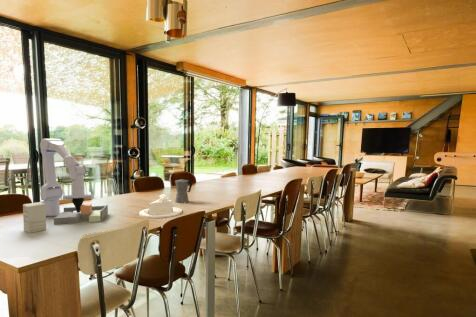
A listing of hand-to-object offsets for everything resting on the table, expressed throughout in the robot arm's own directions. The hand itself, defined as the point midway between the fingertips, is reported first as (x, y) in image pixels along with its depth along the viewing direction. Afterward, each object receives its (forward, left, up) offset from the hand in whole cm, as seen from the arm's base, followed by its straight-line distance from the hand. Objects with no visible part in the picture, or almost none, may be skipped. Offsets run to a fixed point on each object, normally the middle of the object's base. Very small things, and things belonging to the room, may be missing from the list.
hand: (78, 212), depth 157 cm
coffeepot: (+58, +33, -4) cm, 67 cm away
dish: (+43, +4, -4) cm, 44 cm away
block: (+4, 0, -1) cm, 4 cm away
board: (+1, 0, -4) cm, 4 cm away
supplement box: (-15, -17, -4) cm, 23 cm away
